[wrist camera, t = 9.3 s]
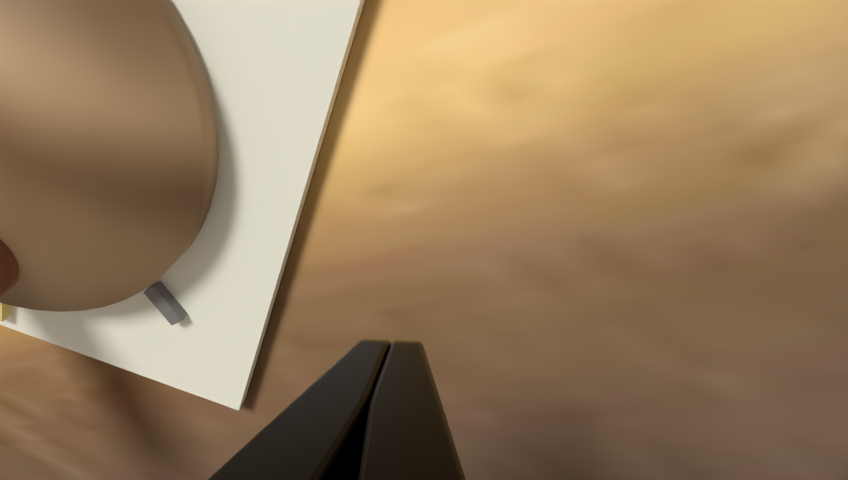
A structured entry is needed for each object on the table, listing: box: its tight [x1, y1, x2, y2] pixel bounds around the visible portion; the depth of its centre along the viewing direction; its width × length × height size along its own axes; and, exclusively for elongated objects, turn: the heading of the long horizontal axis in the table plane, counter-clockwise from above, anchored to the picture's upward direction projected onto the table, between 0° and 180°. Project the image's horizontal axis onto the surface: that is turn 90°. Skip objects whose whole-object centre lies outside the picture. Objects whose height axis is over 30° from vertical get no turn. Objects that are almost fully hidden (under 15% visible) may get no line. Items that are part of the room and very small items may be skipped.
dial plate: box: [0, 0, 365, 410], centre depth 21 cm, size 22×22×1 cm
